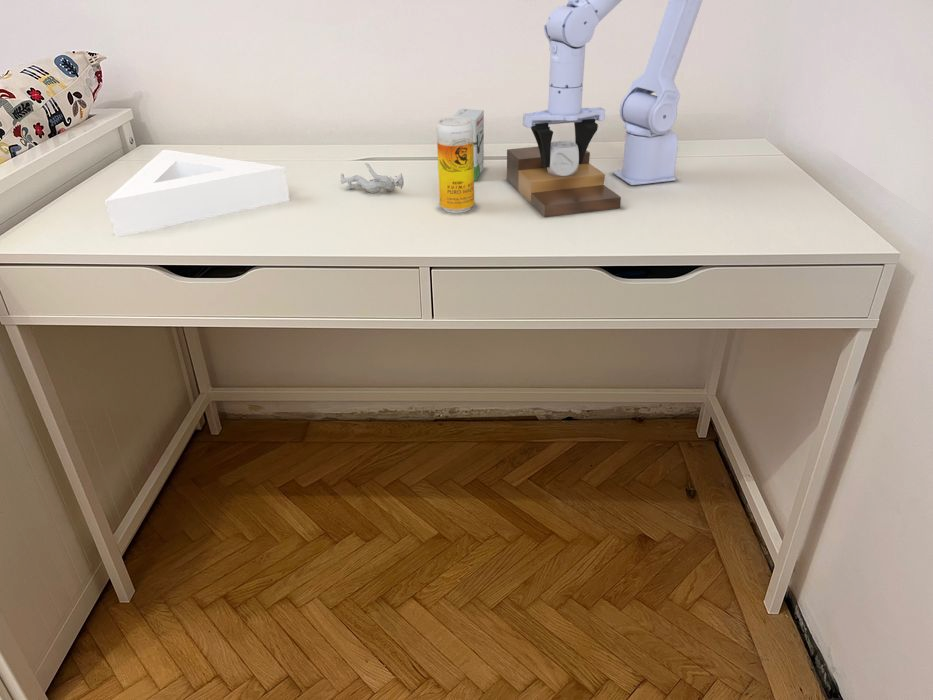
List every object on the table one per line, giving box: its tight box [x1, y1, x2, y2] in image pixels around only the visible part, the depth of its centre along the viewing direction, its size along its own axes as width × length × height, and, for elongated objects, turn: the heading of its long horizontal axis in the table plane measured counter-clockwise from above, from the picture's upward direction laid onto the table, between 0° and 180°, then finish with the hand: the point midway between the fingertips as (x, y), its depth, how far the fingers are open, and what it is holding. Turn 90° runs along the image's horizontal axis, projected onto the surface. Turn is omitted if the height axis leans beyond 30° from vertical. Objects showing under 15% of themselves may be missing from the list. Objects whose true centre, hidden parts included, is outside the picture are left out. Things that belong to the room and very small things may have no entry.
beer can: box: [436, 116, 475, 214], centre depth 118 cm, size 6×6×15 cm
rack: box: [506, 146, 622, 218], centre depth 126 cm, size 14×21×6 cm, turn 15°
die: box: [547, 140, 579, 176], centre depth 124 cm, size 5×5×5 cm
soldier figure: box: [340, 162, 405, 194], centre depth 129 cm, size 8×5×12 cm
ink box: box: [452, 108, 485, 181], centre depth 136 cm, size 9×5×12 cm, turn 168°
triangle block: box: [104, 149, 291, 238], centre depth 128 cm, size 30×26×6 cm
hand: (561, 164), depth 125 cm, fingers closed on die, 6 cm apart
